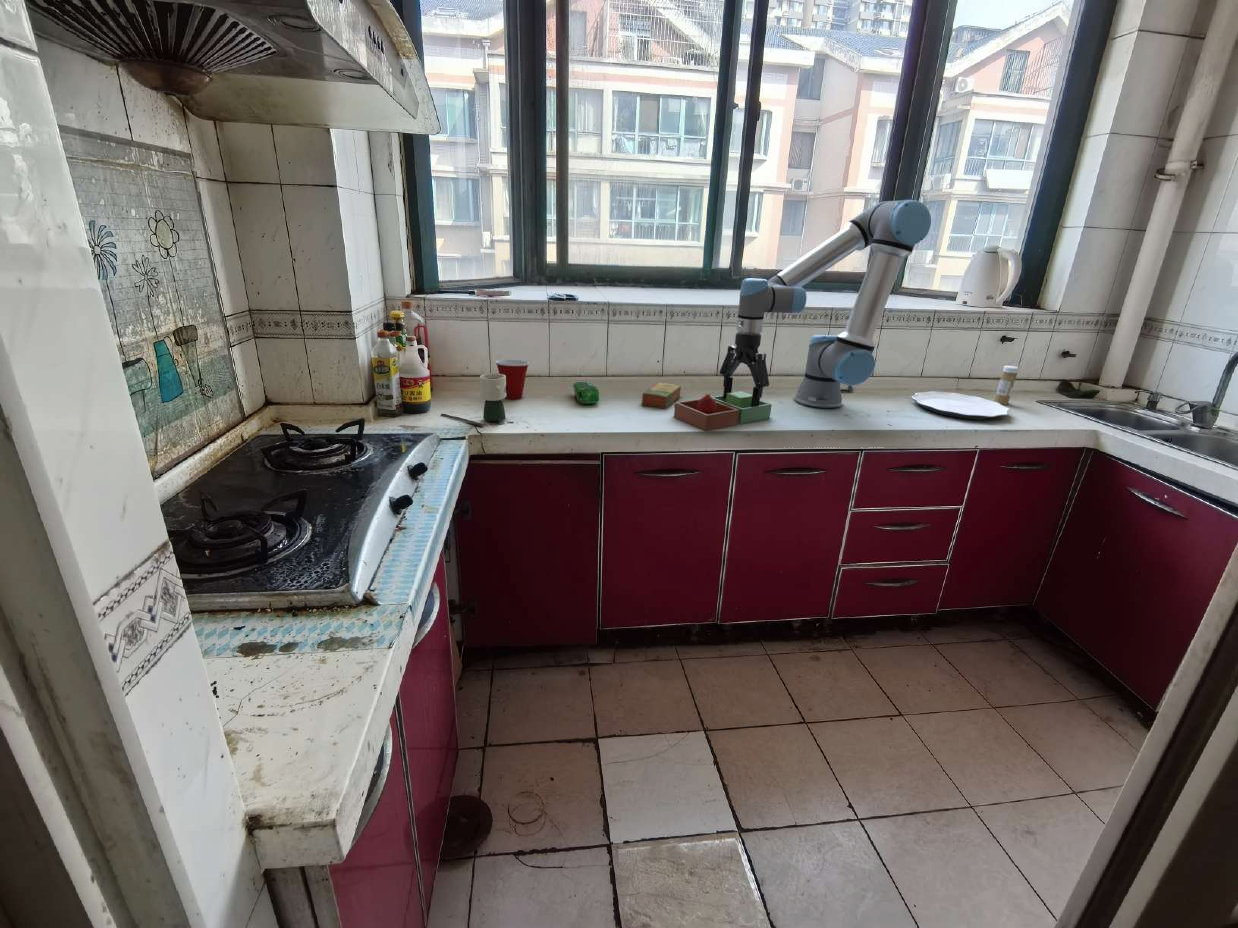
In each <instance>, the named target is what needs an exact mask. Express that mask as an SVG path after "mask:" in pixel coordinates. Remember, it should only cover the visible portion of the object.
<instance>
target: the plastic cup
mask: <svg viewBox="0 0 1238 928" xmlns="http://www.w3.org/2000/svg"><path fill="white" fill-rule="evenodd" d="M494 362H495V364H496V367H497V371H498V374H503V375H505V376H506V397H505V398H504V399H507V400H520V399H522V398H523V395H524V388H525V383H526V375H527V371H528V368H529V365H530V362H529V361H528V360H521V359H498V360H495V361H494Z"/></svg>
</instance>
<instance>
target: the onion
mask: <svg viewBox="0 0 1238 928" xmlns="http://www.w3.org/2000/svg"><path fill="white" fill-rule="evenodd" d="M712 397H713V396H711V393H710V392H707V393H706V394H705V396H703V397H701V398H699V399H700V400H699V402H698V404H697V411H700V412H702V413H705V414H707V415H708V414H714V413H715V411H716V402H715V400H714V399H713V398H712Z"/></svg>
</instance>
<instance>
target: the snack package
mask: <svg viewBox="0 0 1238 928" xmlns="http://www.w3.org/2000/svg"><path fill="white" fill-rule="evenodd" d="M572 387H573V393H574V395H575V397H576V399H577V401H578V403H580V404H583V405H594V404H597V403H598V402H599V401H600V391H599V389H598V388H597V385H596V384H595V383H594V382H592V381H576V382H574V383H573V384H572Z"/></svg>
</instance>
